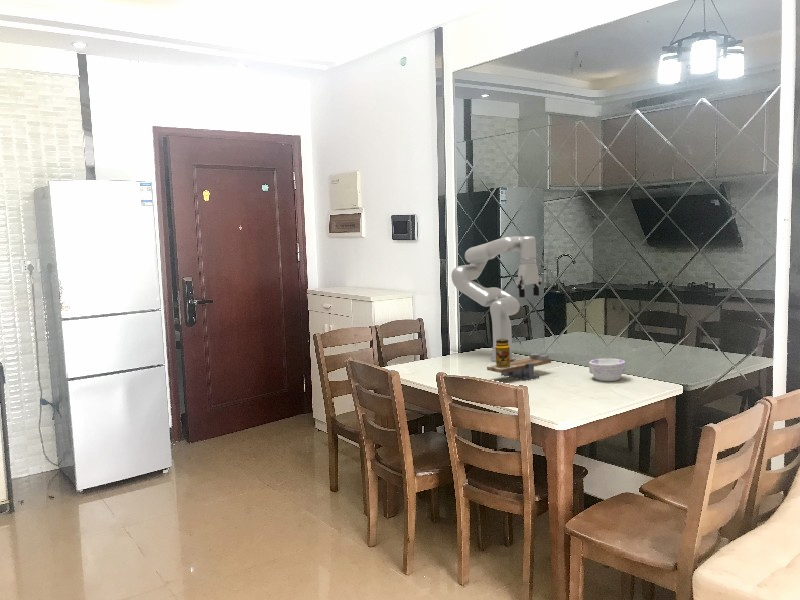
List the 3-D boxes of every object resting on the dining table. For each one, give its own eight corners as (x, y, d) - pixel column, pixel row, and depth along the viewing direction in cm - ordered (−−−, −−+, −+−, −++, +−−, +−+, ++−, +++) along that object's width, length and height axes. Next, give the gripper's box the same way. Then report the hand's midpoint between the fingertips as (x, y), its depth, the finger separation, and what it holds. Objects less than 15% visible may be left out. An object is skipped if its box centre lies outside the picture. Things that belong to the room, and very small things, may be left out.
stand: (501, 375, 299) (500, 360, 299) (514, 372, 304) (513, 357, 303) (526, 380, 286) (525, 365, 285) (539, 378, 291) (538, 362, 290)
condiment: (501, 368, 283) (500, 341, 282) (489, 365, 291) (488, 339, 290) (514, 366, 287) (513, 339, 285) (503, 363, 294) (502, 337, 293)
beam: (487, 370, 290) (486, 362, 290) (535, 359, 307) (535, 352, 306) (502, 373, 282) (502, 365, 282) (551, 362, 299) (550, 355, 298)
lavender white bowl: (588, 375, 292) (588, 357, 291) (624, 375, 288) (624, 357, 287) (589, 382, 277) (589, 364, 277) (627, 383, 273) (627, 364, 273)
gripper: (535, 260, 326) (536, 294, 328) (509, 262, 317) (510, 297, 319) (546, 260, 320) (547, 295, 322) (520, 262, 311) (521, 298, 312)
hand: (529, 296), depth 320 cm, fingers open, 9 cm apart
